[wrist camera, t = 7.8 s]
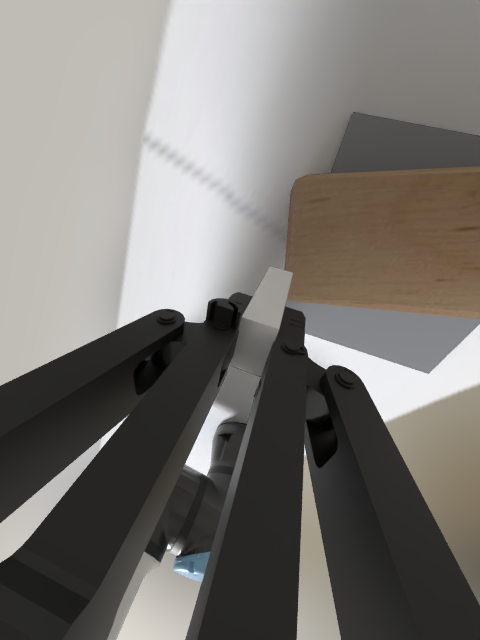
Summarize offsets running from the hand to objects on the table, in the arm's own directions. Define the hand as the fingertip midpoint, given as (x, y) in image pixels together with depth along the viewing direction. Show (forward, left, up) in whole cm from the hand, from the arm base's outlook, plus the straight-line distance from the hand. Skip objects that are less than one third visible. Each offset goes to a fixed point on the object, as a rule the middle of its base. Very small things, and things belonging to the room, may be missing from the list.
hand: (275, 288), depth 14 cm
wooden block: (+1, 0, -10) cm, 10 cm away
